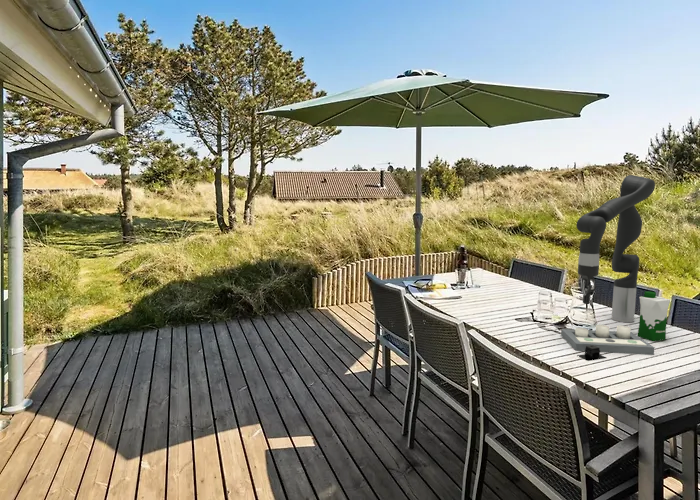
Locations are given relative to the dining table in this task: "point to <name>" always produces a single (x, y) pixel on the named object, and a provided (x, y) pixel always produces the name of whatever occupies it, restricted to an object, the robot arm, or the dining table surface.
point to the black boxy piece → (591, 353)
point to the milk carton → (653, 317)
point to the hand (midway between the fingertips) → (586, 303)
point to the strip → (610, 341)
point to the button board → (613, 348)
